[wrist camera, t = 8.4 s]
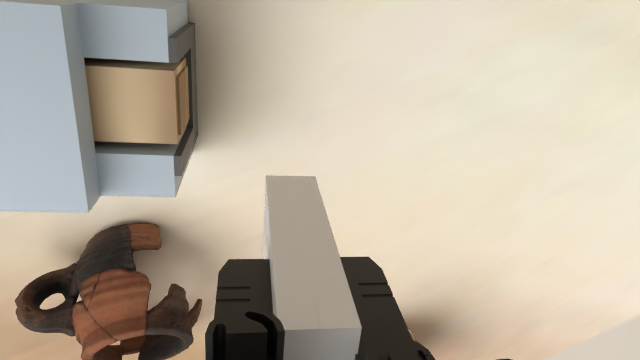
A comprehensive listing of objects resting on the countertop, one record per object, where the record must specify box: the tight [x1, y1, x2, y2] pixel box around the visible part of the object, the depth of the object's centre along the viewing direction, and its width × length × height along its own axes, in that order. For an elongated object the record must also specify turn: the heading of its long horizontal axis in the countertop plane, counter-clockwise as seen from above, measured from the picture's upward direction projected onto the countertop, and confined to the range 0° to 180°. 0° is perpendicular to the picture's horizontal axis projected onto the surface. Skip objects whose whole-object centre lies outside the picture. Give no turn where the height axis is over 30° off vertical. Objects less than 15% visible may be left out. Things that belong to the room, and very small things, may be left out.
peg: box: [84, 57, 189, 144], centre depth 26 cm, size 12×4×4 cm, turn 85°
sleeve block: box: [0, 0, 198, 213], centre depth 26 cm, size 12×10×9 cm
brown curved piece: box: [15, 224, 202, 360], centre depth 34 cm, size 12×10×8 cm
